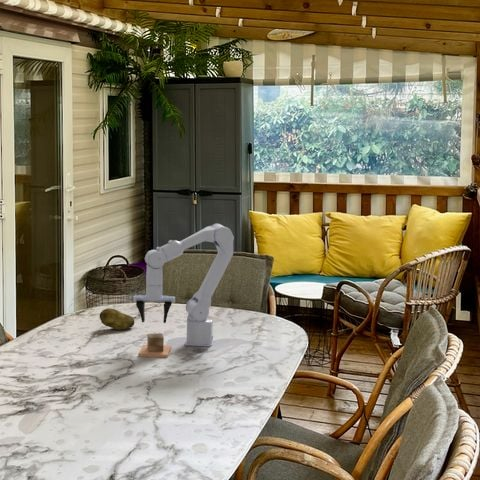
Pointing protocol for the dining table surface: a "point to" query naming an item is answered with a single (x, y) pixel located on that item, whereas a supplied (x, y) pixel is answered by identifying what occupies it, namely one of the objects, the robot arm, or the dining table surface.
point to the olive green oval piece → (116, 319)
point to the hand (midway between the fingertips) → (154, 321)
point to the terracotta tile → (146, 353)
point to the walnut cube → (155, 342)
